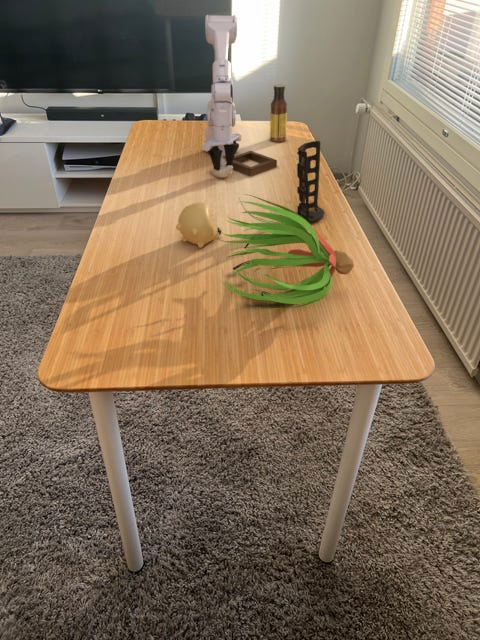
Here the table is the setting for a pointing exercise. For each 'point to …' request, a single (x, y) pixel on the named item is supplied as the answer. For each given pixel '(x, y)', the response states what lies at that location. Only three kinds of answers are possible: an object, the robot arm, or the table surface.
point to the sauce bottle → (278, 115)
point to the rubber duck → (223, 169)
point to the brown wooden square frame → (264, 161)
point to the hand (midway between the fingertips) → (222, 167)
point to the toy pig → (198, 224)
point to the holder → (308, 182)
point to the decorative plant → (289, 256)
